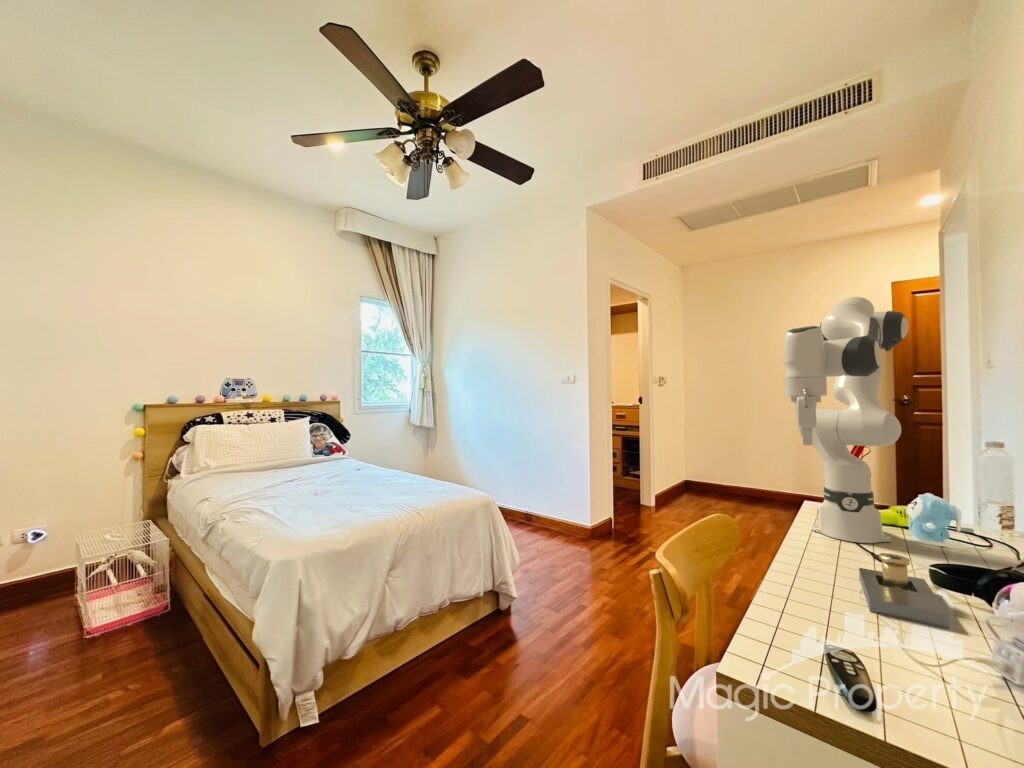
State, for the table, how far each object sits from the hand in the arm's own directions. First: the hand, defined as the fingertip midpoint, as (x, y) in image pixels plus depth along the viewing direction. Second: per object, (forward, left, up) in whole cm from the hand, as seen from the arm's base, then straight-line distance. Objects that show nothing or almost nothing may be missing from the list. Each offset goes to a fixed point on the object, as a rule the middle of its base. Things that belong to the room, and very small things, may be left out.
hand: (807, 443), depth 104 cm
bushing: (+8, +14, -31) cm, 35 cm away
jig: (+11, +14, -31) cm, 36 cm away
